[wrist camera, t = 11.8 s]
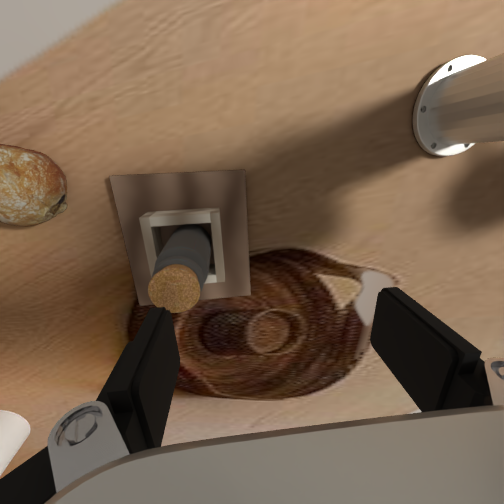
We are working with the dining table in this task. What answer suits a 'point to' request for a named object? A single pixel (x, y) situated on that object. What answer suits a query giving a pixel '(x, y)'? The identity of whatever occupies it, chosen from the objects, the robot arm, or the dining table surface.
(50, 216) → the bread roll
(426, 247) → the dining table surface
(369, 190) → the dining table surface
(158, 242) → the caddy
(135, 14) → the dining table surface
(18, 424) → the cylinder container
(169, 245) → the bottle
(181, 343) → the dining table surface
